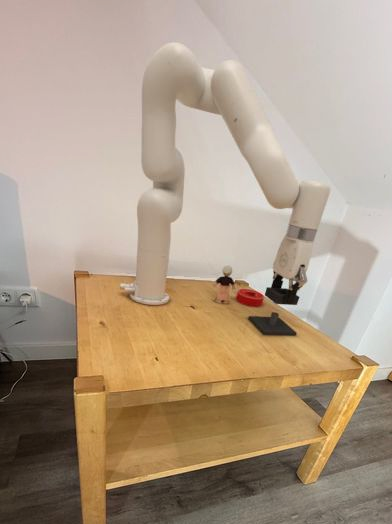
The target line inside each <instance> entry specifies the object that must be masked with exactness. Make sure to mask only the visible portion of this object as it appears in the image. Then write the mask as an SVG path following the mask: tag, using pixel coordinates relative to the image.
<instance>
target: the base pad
mask: <svg viewBox="0 0 392 524" xmlns="http://www.w3.org/2000/svg"><path fill="white" fill-rule="evenodd" d="M279 316H280V314H279V313H278V312H276V311H273V312H271V314H270V316H261V315H260V316H259V315H258V316H257V315H248V317H247V319H248V320H249V321H250V323H252V324H253V326H254V327H255V328H256V329H257V330H258V331H259V332H260V334H262V335H263V336H297V331H296V330H294V329H293V328H292V327H291V326H290V325H288V323H286V322H285V321H284V320H283V319H282V318H281V317H279Z"/></svg>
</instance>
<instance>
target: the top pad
mask: <svg viewBox="0 0 392 524" xmlns="http://www.w3.org/2000/svg"><path fill="white" fill-rule="evenodd" d="M287 289H288V288H286V287H285V288H284V287H281V288H271V286H270V287H268V286H267V287H266V289H265V293H264V297H266V298H268V299H269V300H270V301H271V302H273V303H274V304H275V305H284V306H285V305H289V306H298V303H299V300H300V296H299V295H298V294H296V297H295V300H294V303H292V304H290V303H283V300H284V296H285V293H286V290H287Z"/></svg>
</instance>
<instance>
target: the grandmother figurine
mask: <svg viewBox="0 0 392 524" xmlns="http://www.w3.org/2000/svg"><path fill="white" fill-rule="evenodd" d="M222 274H223V276H219V277H218V278H217V279H216V280H215V282H214V283H213V284H212V285H213V287H217V285H218V284H219V287H218V290H217V297H216V300H215V302H216V303H218V304H222V303H223V304H224V305H225V304H229V297H230V296H229V295H230V285H231V289H232V290H236V285H235V281H234V279H233V278H232V277H231V274H233V267H232V266H230V265H225V266H224V267H223V268H222Z"/></svg>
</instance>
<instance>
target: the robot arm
mask: <svg viewBox="0 0 392 524" xmlns="http://www.w3.org/2000/svg"><path fill="white" fill-rule="evenodd" d="M177 101H178V102H179V103H180V104H182V105H183V106H185V107H188V108H191V109H193V110H194V109H195V110H197V111H198V110H199V111H202V112H206V113H210V114H214V115H219V116H221V117H222V119H223V121H224V124H225V125H226V127H227V129H228V131H229V132H230V134H231V137H232V138H233V140H234V143H235V144H236V146H237V148H238V150H239V153H240V154H241V156H242V157H243V158H244V160H245V161H246V162H247V164H248V166H249V168H250V170H251V172H252V173H253V175H254V178H255V179H256V181H257V183H258V185H259V187H260V190H261V191H262V193H263V195H264V197H265V199H266V201H267V204H269V205H270V206H271V207H272V208H274V209H276V210H284V209H292V210H291V214H290V218H289V222H288V225H287V228H286V232H285V235H284V236H283V238H282V240H281V242H280V245H279V247H278V250H277V252H276V255H275V258H274V262H273V263H272V272H273V275H272V282H271V286H270V287H271V288H283V283H284V280H283V279H286V280H288V288H286V289H287V290H286V293H285V296H284V300H283V303H290V304H292V303H294V300H295V297H296V295H298V291H300V289H301V288H303V286H305V284H307V282H308V277H307V271H308V268H309V264H310V261H311V257H312V251H313V247H314V242H315V239H316V236H317V233H318V229H319V226H320V224H321V222H322V221H321V220H322V217H323V215H324V212H325V209H326V205H327V202H328V200H329V197H330V193H331V185H330V184H329V183H327V182H324V181H319V180H313V179H304V180H300V179H298V178H297V176H296V174H295V173H294V171H293V168H292V167H291V165H290V162H289V161H288V158H287V156H286V154H285V152H284V150H283V148H282V146H281V144H280V142H279V140H278V138H277V136H276V133H275V131H274V128H273V126H272V124H271V122H270V119H269V118H268V116H267V114H266V111H265V109H264V108H263V106H262V103H261V101H260V99H259V97H258V94H257V93H256V90H255V89H254V87H253V84H252V81H251V80H250V78H249V76H248V74H247V71H246V70H245V69H244V66H242V64H240V62H238V61H237V60H235V59H227V60H224V61H222V62H221V63H219V65H217V66H216V68H215V69H211V68H207V67H205V66H204V67H203V66H201V65H200V63H199V61H198V59H197V58H196V56H195V55H194V53H193V51H192V50H191V49H190V48H188V47H187V46H186V45H184V44H183V43H180V42H176V41H175V42H173V41H172V42H169V43H165V44H164V45H162V46H161V47H159V48H158V49H157V50H156V51H155V52H154V53H153V55H152V56H151V57H150V59H149V61H148V63H147V65H146V66H145V70H144V73H143V77H142V84H141V156H140V157H141V169H142V172H143V174H144V176H145V177H146V178H147V179H149V180H150V181H152V188H148V189H147V190H145V191H144V192H142V194H141V195H140V197H139V198H138V201H137V206H136V217H137V251H136V252H137V253H136V267H135V280H133V282H130V283H123V282H121V283H119V289H120V290H122V291H124V292H125V293H128V292H129V298H130V299H131V300H132V301H133V302H136V303H138V304H143V305H148V306H160V305H161V306H162V305H165V304H167V303H168V302H169V301H170V295H169V294H168V293H166V287H167V278H168V268H169V261H170V260H169V259H170V253H171V252H170V251H171V238H172V231H171V230H172V229H171V226H172V225H171V224H172V223H174V222H175V221H177V220H178V219H179V217H180V215H181V214H182V210H183V205H184V187H185V172H186V171H185V161H184V158H183V155H182V153H181V152H180V150H179V149H178V148H177V147H176V133H177V132H176V131H177V113H176V111H177V110H176V103H177Z"/></svg>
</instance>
